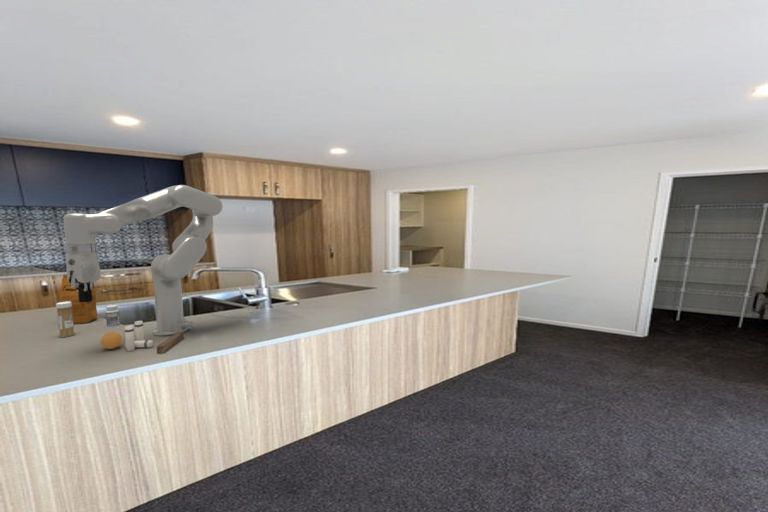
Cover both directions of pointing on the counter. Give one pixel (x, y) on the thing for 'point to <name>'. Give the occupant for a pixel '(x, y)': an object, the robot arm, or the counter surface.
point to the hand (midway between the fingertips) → (85, 301)
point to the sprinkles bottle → (65, 319)
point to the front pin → (143, 343)
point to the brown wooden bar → (169, 342)
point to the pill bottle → (112, 315)
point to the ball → (111, 340)
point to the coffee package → (78, 303)
